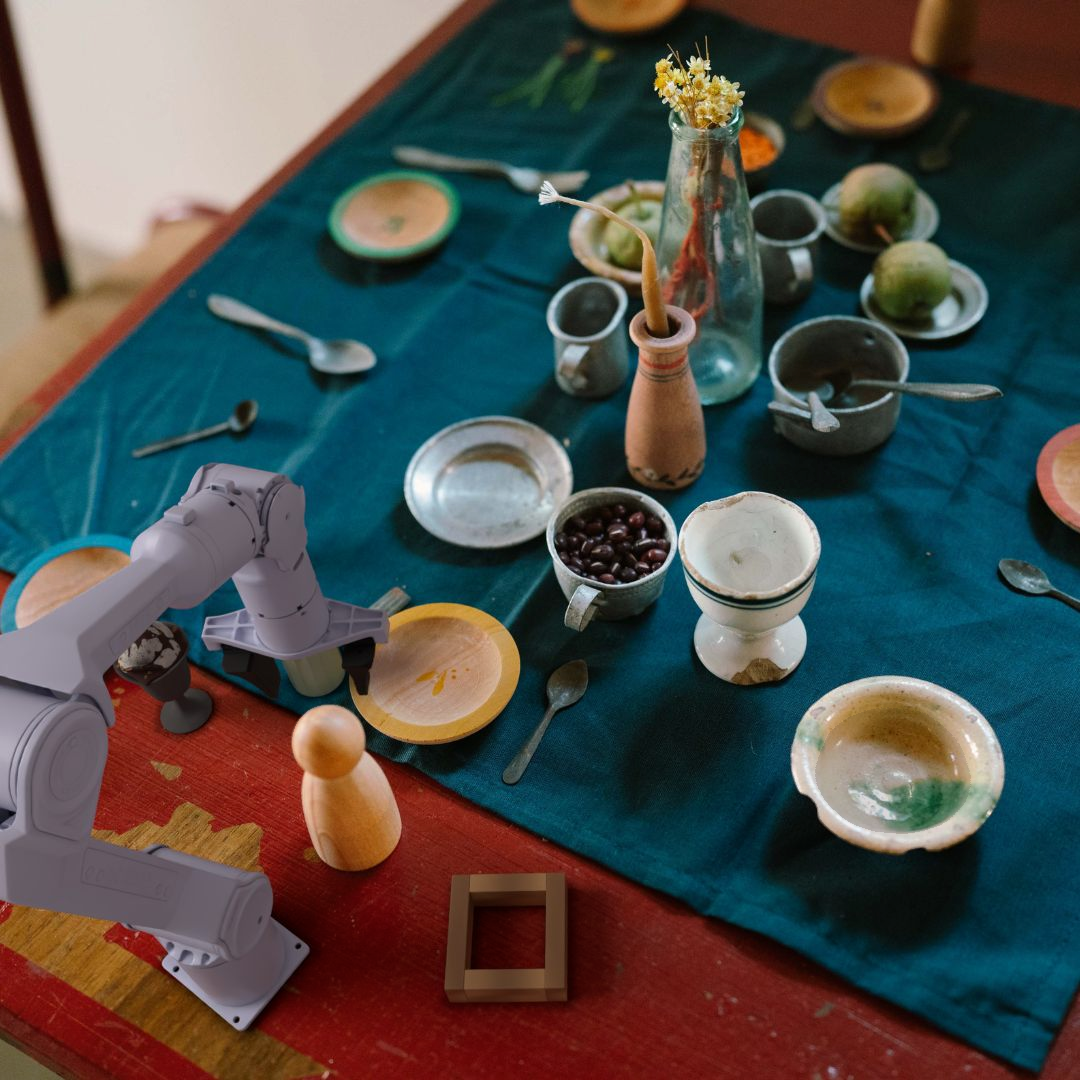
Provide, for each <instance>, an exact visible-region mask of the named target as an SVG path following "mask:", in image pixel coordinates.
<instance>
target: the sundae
mask: <svg viewBox="0 0 1080 1080" xmlns="http://www.w3.org/2000/svg"><path fill="white" fill-rule="evenodd" d="M189 652H190V641H189V638H188V636H187V634H186V632H185V630H184V629H183V628H182V627H181V626H180V625H178V624H177V623H175V622H171V621H159V620H155V621H154V622H153V623H152V624H151V625H150V627H149V628H148V629H147V630H146V631H145V632H144V633H143V634H142V635H141V636H140V637H139V638H138V639H137V640H136V641H135V642H134V643H133V644H132V645H131V646H130V647H129V648H128V649H127V650H126V651H125V652H124V653H123V654H122V655H121V656H120V657H119V658H118V659H117V660H116V661H115V662H114V663H113V664H112V665H113V668H114V671H115V673H116V674H118V676H119V677H120V678H122V679H124V680H125V681H128V682H129V683H133V684H135V685H138V686H139V687H141V689H142V690H143V691H144V692H145V693H146V694H147V695H149V696H150V697H151V698H153V699H154V700H155V701H158V702H161V703H164V704H163V706H162V707H161V710H160V716H159V719H160V723H161V725H162V727H163V728H164V729H165V730H167V731H168V732H170V733H173V734H178V735H179V734H180V735H181V734H188V733H191V732H193V731H195V730H197V729H199V728H200V727H202V726H203V725H204V724H205V723H206V722H207V721H208V719H209V718H210V716H211V713H212V710H213V701H212V698H211V696H210V695H209V694H208V693H207V692H206V691H204V690H202V689H198V688H190V687H191V685H192V676H191V669H190V665H189V662H188V659H187V656H188V654H189Z"/></svg>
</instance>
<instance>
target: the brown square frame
mask: <svg viewBox="0 0 1080 1080" xmlns="http://www.w3.org/2000/svg"><path fill="white" fill-rule="evenodd" d="M567 882H568V881H567V876H566V872H534V873H533V872H530V873H529V872H527V873H525V872H524V873H522V872H521V873H480V874H479V873H475V874H452V875H451V885H450V886H451V887H450V901H449V914H448V929H447V944H446V960H445V973H444V974H445V975H444V988H443V989H444V991H445V994H446V996H447V999H448V1002H449V1003H529V1002H531V1003H532V1002H533V1003H534V1002H535V1003H536V1002H537V1003H538V1002H568V883H567ZM526 906H528V907H532V906H534V907H535V906H538V907H539V906H545V955H544V958H545V959H544V960H545V962H544V963H545V965H544V967H545V968H501V969H500V968H499V969H497V968H494V969H492V968H490V969H471V968H472V967H471V966H472V948H473V947H472V946H473V933H474V932H473V930H474V929H473V928H474V910H475V908H477V907H526Z"/></svg>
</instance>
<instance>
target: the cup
mask: <svg viewBox="0 0 1080 1080" xmlns="http://www.w3.org/2000/svg"><path fill="white" fill-rule="evenodd" d="M342 658H343V654H342V652H341V650H340V646H338V647H335V648H332V649H329V650H326V651H323V652H320V653H317V654H314V655H311V656H308V657H305V658H302V659H297V660H281V663H282V665H283V668H284V670H285V672H286V674H287V676H288V678H289V679H288V680H289V681H290V683H291V684H292V686H293V687H294V689H295V690H296V692H298V693H299V694H301V695H303V696H306V697H311V698H312V697H313V698H316V697H322V696H325V695H328V694H330V693H331V692H333V691H335V690H336V689H337V688H338V687H339V686H340V685H341V683H342V682H343V680H344V678H345V675H346V670H344V669H342V666H341V665H342Z"/></svg>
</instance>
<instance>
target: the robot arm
mask: <svg viewBox="0 0 1080 1080" xmlns="http://www.w3.org/2000/svg"><path fill="white" fill-rule="evenodd" d="M305 512H306V494H305V489H304V486H303V485H300V486H299V485H297V484H295V483H293V481H292V480H291V478H290V476H288V475H286V474H283V473H277V472H273V471H268V470H262V469H256V468H252V467H247V466H242V465H237V464H230V463H225V462H224V463H218V462H210V463H207V464H205V465H201V466H200V467H199V468H198V469H197V470H196V472H195V474H194V475H193V477H192V479H191V481H190V483H189V486H188V489H187V490H186V493H184V495H182V496H181V497H180V501H179V502H178V504H177V505H176V504H175V505H173V506H172V507H170V508H168V509H167V510H165V511H164V512H163V517H162V518H160V519H159V520H158V521H156V522H155V523H153V524H152V525H151V526H149V527H148V528H147V529H145V530H144V531H142V532H141V533H140V534H139V535H137V537H136V538H135V539H134V540H133V543H132V545H131V547H130V555H129V561H130V563H129V564H127V565H125V566H123V567H122V568H121V569H118V570H116V571H115V572H114V573H112V574H110V575H109V576H107V577H106V578H104V579H102V580H100V581H99V582H98V583H96V584H94V585H92V586H91V587H89V588H87V589H86V590H84V591H83V592H81V593H80V594H78V595H76V596H74V597H73V598H71V599H69V600H68V601H66V602H65V603H63V604H61V605H60V606H58V607H56V608H54V609H53V610H51V611H49V612H48V613H46V614H45V615H43V616H42V617H40V618H38V619H37V620H35V621H33V622H32V623H30V624H28V625H26V626H24V627H21V628H19V629H15V630H12V631H8V632H5V633H2V634H0V901H2V902H5V903H9V904H12V905H16V906H23V907H28V908H35V909H40V910H45V911H51V912H57V913H63V914H68V915H73V916H80V917H86V918H90V919H91V918H92V919H98V920H102V921H103V920H104V921H108V922H115V923H119V924H121V925H122V927H124V928H125V929H127V930H130V931H134V932H139V931H140V932H143V933H145V934H146V933H147V934H149V935H152V936H153V937H154V938H155V939H156V940H157V942H159V944H161V946H162V947H163V948H164V949H165V950H166V952H167V953H168V954H167V955H166V956H165V957H164V958H163V960H162V961H161V965H162V967H163V969H164V970H166V971H167V972H168V973H169V974H170V975H171V976H173V977H174V978H175V979H176V980H177V981H179V983H181V984H182V985H183V986H184V987H186V988H187V989H188V990H189V991H191V992H192V993H193V994H194V995H195V996H196V997H198V998H199V999H200V1000H201V1001H202V1002H204V1004H206V1005H207V1006H208V1007H209V1008H210V1009H212V1010H213V1011H214V1012H215V1013H216V1014H218V1015H219V1016H220V1017H221V1018H222V1019H224V1020H225V1021H226V1022H227V1023H228V1024H230V1025H231V1026H232V1027H233V1028H234V1029H235V1030H237V1031H238V1032H244V1031H246V1030H247V1029H248V1028H249V1027H250V1025H251V1024H252V1023H253V1022H254V1021H255V1019H256V1018H257V1017H258V1016H259V1015H260V1013H261V1012H262V1011H263V1010H264V1008H265V1007H266V1006H267V1005H268V1004H269V1003H270V1001H271V1000H272V999H273V998H274V996H275V995H276V994H277V993H278V992H279V990H280V989H281V988H282V987H283V985H284V984H285V983H286V982H287V981H288V980H289V979H290V977H291V976H292V975H293V973H294V972H295V971H296V970H297V969H298V968H299V966H300V965H301V964H302V963H303V961H304V960H305V959H306V958H307V957H308V955H309V954H310V950H311V949H310V947H309V945H308V944H307V943H305V942H304V941H303V940H301V939H300V938H299V937H298V936H296V935H295V934H294V933H292V932H291V931H290V930H289V929H287V928H286V927H285V926H284V925H282V923H280V922H278V921H277V920H275V919H274V918H273V917H272V916H271V915H272V910H273V905H274V893H273V888H272V884H271V880H270V878H269V876H268V875H267V874H265V873H263V872H260V871H248V870H245V869H242V868H238V867H235V866H231V865H228V864H226V863H222V862H219V861H215V860H211V859H207V858H204V857H200V856H198V855H194V854H190V853H187V852H184V851H180V850H176V849H173V848H171V847H170V846H169V845H167V844H163V843H160V842H159V843H157V842H156V843H152V844H150V845H148V846H146V847H145V848H143V849H139V850H136V849H132V848H129V847H126V846H122V845H119V844H115V843H112V842H108V841H105V840H101V839H98V838H95V837H92V832H93V827H94V823H95V819H96V814H97V809H98V808H97V807H98V804H99V798H100V793H101V787H102V783H103V777H104V771H105V767H106V764H107V761H108V755H109V736H108V729H107V728H110V729H112V728H113V727H114V726H115V723H116V713H115V708H114V703H113V699H112V696H111V694H110V692H109V690H108V688H107V686H106V683H105V681H104V674H105V673H106V672H107V671H108V670H109V669H110V667H111V666H112V665H113V663H114V662H115V661H116V660H117V659H118V658H119V657H120V656H121V655H122V654H123V653H124V652H125V651H126V650H127V649H128V648H129V647H130V646H131V645H132V644H133V643H134V642H135V641H136V640H137V639H138V638H139V637H140V636H141V635H142V634H143V633H144V632H145V631H146V630H147V629H148V628H149V627H150V625H151V624H152V623H153V622H154V621H157V620H158V619H159V618H160V617H161V616H162V615H163V613H164V612H165V611H166V610H167V609H168V608H171V609H175V610H188V609H193V608H195V607H197V606H199V605H200V604H202V602H204V601H205V600H206V599H207V598H208V597H210V596H211V595H212V594H213V593H214V592H215V591H217V590H218V589H219V588H220V587H221V586H222V585H224V584H225V583H226V582H227V581H228V580H230V578H231V580H232V582H233V583H234V585H235V588H236V590H237V593H238V594H239V596H240V599H241V601H242V603H243V605H244V608H242V609H238V610H235V611H232V612H229V613H224V614H220V615H213V616H206V617H205V620H204V625H203V629H202V634H201V639H202V641H203V643H204V645H205V646H206V649H207V650H208V651H212V652H213V651H220V650H222V659H221V668H222V671H224V673H225V674H226V675H230V676H233V677H237V678H240V679H242V680H244V681H246V682H248V683H250V684H251V685H252V686H254V687H255V688H257V689H258V690H259V691H261V692H262V693H263V694H264V695H265V696H266V697H267V698H269V699H270V700H278V698H279V694H280V689H281V683H282V675H281V672H280V669H279V666H278V664H277V662H276V660H297V659H302V658H305V657H308V656H311V655H314V654H317V653H320V652H323V651H326V650H329V649H332V648H335V647H341V646H343V651H342V665H341V666H342V669H344V670H345V672H347V673H348V674H349V676H350V678H351V679H352V682H353V685H354V688H355V690H356V693H357V694H358V696H359V697H361V696H362V697H363V696H368V695H369V690H370V680H371V669H372V668H373V665H374V661H375V656H376V649H377V648H376V647H377V645H386V644H388V643H389V637H390V629H391V621H390V619H389V616H388V613H387V610H386V609H375V608H367V607H364V606H363V607H362V606H359V605H355V604H352V603H347V602H344V601H340V600H337V599H334V598H333V599H332V598H328V597H325V596H324V595H323V592H322V589H321V587H320V584H319V582H318V579H317V576H316V575H317V574H316V573H315V570H314V567H313V565H312V562H311V559H310V556H309V554H308V551H307V549H306V547H307V544H308V538H307V537H308V535H309V533H308V531H307V528H306V524H305ZM275 659H276V660H275ZM298 946H300V948H297V947H298ZM178 968H179V969H178ZM177 969H178V970H177ZM176 970H177V971H176ZM237 1019H239V1021H238V1022H236V1020H237Z"/></svg>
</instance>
